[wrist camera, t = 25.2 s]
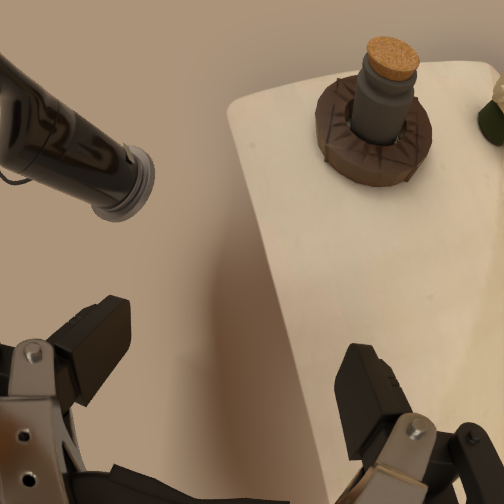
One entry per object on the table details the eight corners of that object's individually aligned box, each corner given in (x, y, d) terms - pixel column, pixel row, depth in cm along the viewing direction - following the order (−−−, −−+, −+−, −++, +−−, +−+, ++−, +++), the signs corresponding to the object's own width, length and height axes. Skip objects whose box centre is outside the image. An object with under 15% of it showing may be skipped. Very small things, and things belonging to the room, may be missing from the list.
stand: (306, 171, 33) (305, 156, 29) (325, 85, 34) (324, 66, 30) (419, 199, 29) (430, 188, 25) (422, 108, 30) (429, 91, 26)
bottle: (356, 111, 32) (366, 25, 18) (397, 127, 31) (427, 47, 16) (344, 146, 32) (353, 60, 18) (388, 163, 31) (423, 86, 16)
